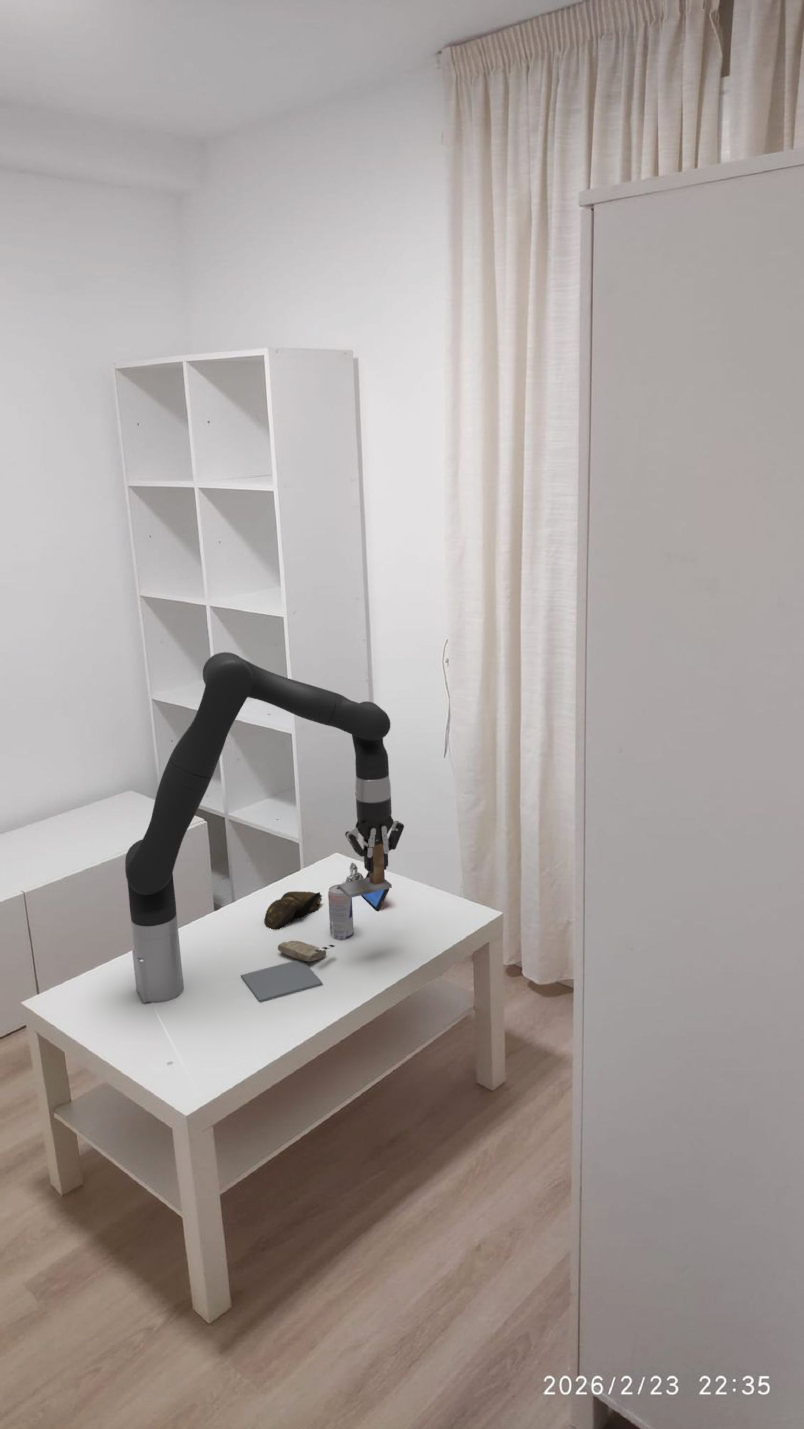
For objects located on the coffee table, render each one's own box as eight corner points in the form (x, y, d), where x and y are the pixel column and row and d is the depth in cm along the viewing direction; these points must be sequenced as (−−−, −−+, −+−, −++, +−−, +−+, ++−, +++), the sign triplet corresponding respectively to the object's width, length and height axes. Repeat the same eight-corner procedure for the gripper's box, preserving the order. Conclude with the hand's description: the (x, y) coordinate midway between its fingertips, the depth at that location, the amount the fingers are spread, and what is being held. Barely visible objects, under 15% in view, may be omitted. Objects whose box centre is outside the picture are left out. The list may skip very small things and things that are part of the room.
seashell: (281, 938, 241) (279, 910, 239) (255, 927, 246) (253, 900, 244) (329, 912, 253) (328, 886, 251) (303, 903, 258) (301, 877, 257)
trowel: (379, 878, 230) (377, 836, 228) (391, 887, 225) (389, 845, 223) (338, 888, 226) (336, 846, 223) (349, 898, 221) (347, 855, 218)
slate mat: (259, 1002, 213) (259, 1000, 213) (240, 977, 223) (240, 975, 223) (322, 984, 219) (322, 982, 219) (301, 961, 229) (301, 959, 229)
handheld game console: (334, 903, 258) (332, 877, 256) (371, 894, 262) (370, 869, 260) (353, 922, 247) (351, 895, 246) (391, 912, 252) (390, 886, 250)
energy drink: (355, 931, 242) (352, 884, 239) (351, 942, 237) (349, 894, 234) (332, 931, 243) (329, 884, 240) (328, 942, 238) (326, 893, 235)
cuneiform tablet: (318, 951, 224) (277, 937, 231) (317, 968, 224) (276, 954, 231) (335, 945, 229) (295, 932, 236) (334, 962, 229) (294, 948, 236)
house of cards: (354, 905, 257) (353, 876, 255) (333, 894, 263) (331, 866, 261) (382, 894, 262) (381, 866, 260) (360, 884, 269) (359, 856, 267)
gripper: (350, 806, 215) (354, 883, 220) (410, 794, 221) (412, 869, 226) (336, 796, 222) (340, 871, 226) (394, 784, 228) (397, 857, 232)
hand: (376, 869), depth 226 cm, fingers closed on trowel, 2 cm apart
